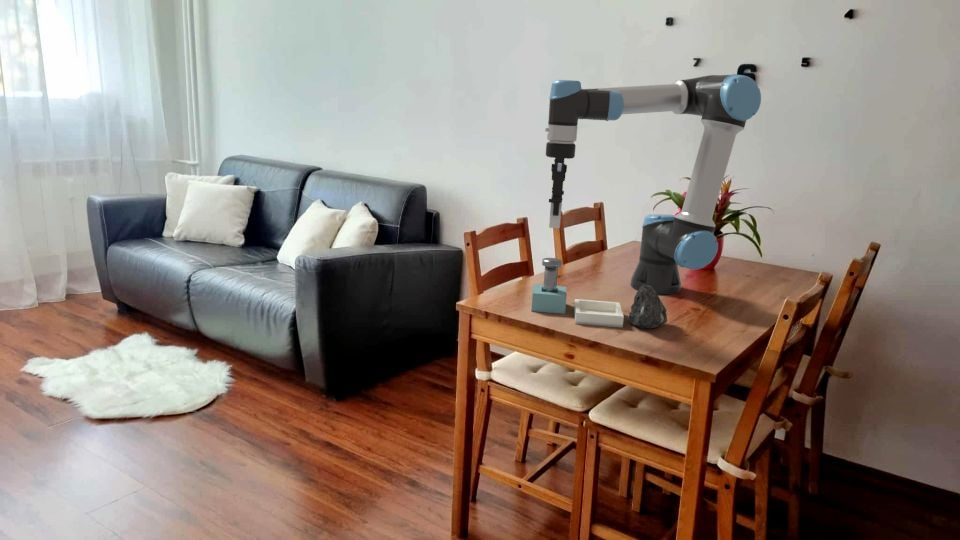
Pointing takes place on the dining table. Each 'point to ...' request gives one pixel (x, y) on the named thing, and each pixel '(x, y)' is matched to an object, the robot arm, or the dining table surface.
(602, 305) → the tray
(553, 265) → the pin
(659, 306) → the rock
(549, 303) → the socket block
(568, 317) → the dining table surface
